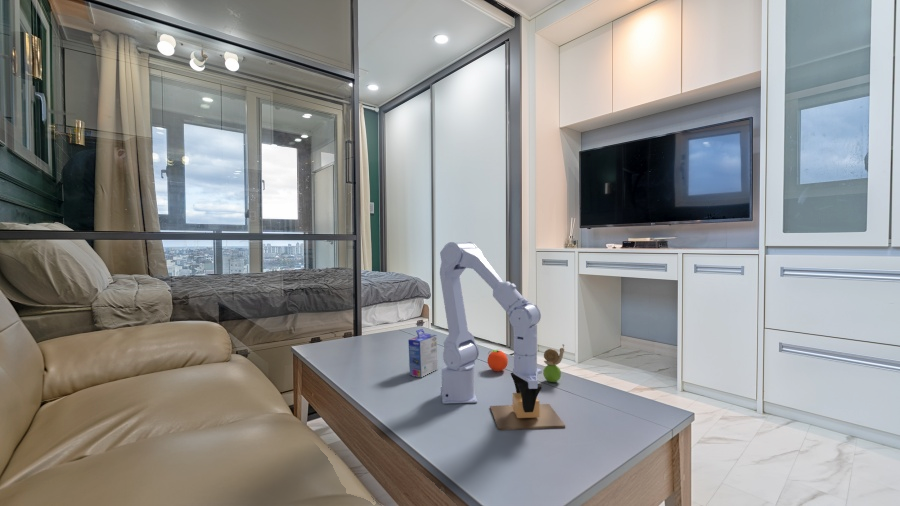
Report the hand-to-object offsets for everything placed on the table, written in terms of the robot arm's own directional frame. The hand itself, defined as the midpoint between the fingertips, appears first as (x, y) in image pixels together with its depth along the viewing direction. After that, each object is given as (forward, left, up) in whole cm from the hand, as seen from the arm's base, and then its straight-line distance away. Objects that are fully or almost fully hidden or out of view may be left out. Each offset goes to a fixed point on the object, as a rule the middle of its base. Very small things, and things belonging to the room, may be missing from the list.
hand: (525, 406), depth 95 cm
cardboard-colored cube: (0, 0, -2) cm, 2 cm away
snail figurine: (+15, +23, -3) cm, 28 cm away
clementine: (-1, +35, -3) cm, 35 cm away
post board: (0, 0, -3) cm, 3 cm away
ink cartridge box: (-26, +35, -3) cm, 44 cm away
